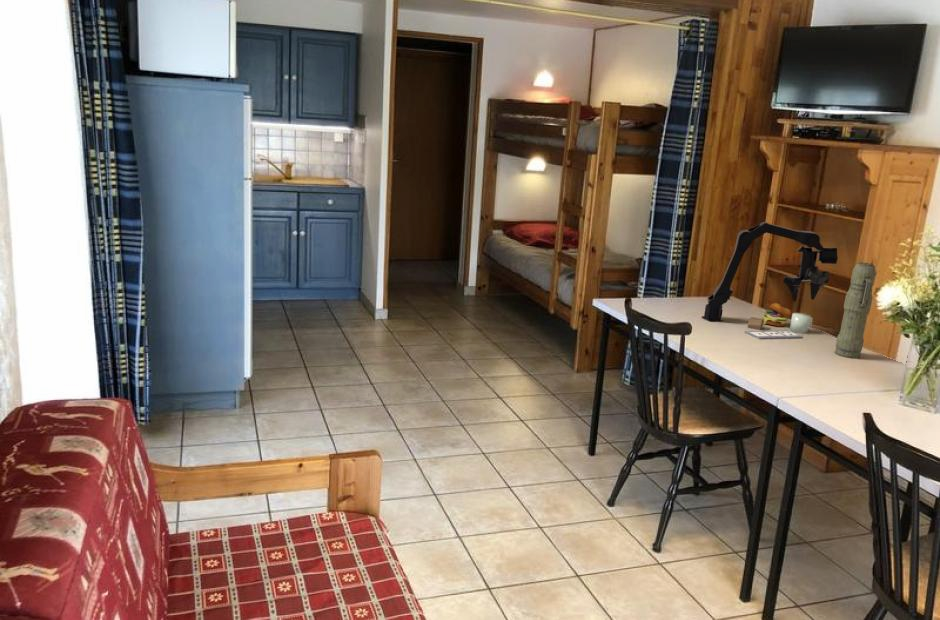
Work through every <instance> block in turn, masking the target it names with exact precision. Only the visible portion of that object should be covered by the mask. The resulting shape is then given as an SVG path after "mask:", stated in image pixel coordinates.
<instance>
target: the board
mask: <svg viewBox="0 0 940 620" xmlns="http://www.w3.org/2000/svg"><path fill="white" fill-rule="evenodd" d="M744 333H745V334H747V335H749V336H751V337H753V338H756V339H758V340H776V339H777V340H779V339H780V340H782V339H786V338H788V339H804V336H802V335H801V334H799V333H795V332H792V331H790V330H788V329H787V330H785V329H784V330H745V331H744Z"/></svg>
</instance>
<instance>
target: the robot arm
mask: <svg viewBox="0 0 940 620" xmlns="http://www.w3.org/2000/svg"><path fill="white" fill-rule="evenodd" d="M764 234H769V235H773V236H774V235H775V236H779V237H781V238H785V239H788V240H789V239H790V240H793V241H795V242H798V243H800V244H802V245H800V246H799V247H798V248H796V251H797V252H799V253H800V252H801V257H800V258H801V260H800V264H799V263H798V264H797V267H798V268H799V273H796V276H794V275H785V276H784V277H783V280H782V283H783V284H785V286H787V288H788V290H789V292H790V295H791V297H792V300H793V301H794V302H796V301H797V299H798V293H799V289H800V288H801V287H802V286H801V284H802V283H808V282H809V283H810V284H809V286H810V288H809V289H810V299H811V300H812V301H814V300H815V298H816V296H817V295H818V292H819V291H820V289H821V288H822V287H824V286H826V285H827V284H829V282H830V281H829V280H830V278H829V277H830V273H829V271H827V270H824V271H819V266H817V261H818V262H819V263H820V264H822V265H823V264H824V265H836V264H837V262H838V260H839V259H838V248H837V247H834V246H833V247H824V245H822V244H821V239H820V236H819V234H817V233H816V232H814V231H812V230H811V231H809V230H798V229H797V230H796V229H793V228H787V227H784V226H781V225H776V224H773V223H769V222H767V221H762V222H761V223H759V224H757V225H755V226H752V227H750V228H749V229H742V230H740V231H739V232H738V233H737V237H736V241H735V246H734V247H735V248H734V251H733V254H732V255H731V259H730V260H729V263H728V265H727V267H726V270H725V273H724V275H723V277H722V280H721V281H720V282H719V284H718V285H717V286H716V288H715V289H714V291H713V293H712V294H711V295H709V296H708V297H706V298H707V304H705V309H704V314H703V315H702V316H701V319H704V320H706V321H708V322H723V319H722V317H723V305H724V304H726V303H727V302H728V301H730V300H731V296H732V294H733V292H734V290H733V288H732V287H731V285H732V283H733V280H734V278H735V276H736V274H737V271H738V268H739V267H740V265H741V262H742V259H743V257H744V255H745V253H746V252H747V251H748V249H749V248H750V246H751V245H752V243H753V242H754V240H757V239H758V238H759V237H761V236H762V235H764ZM804 245H805V246H806V247H805V246H804ZM813 248H815V249H813Z"/></svg>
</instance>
